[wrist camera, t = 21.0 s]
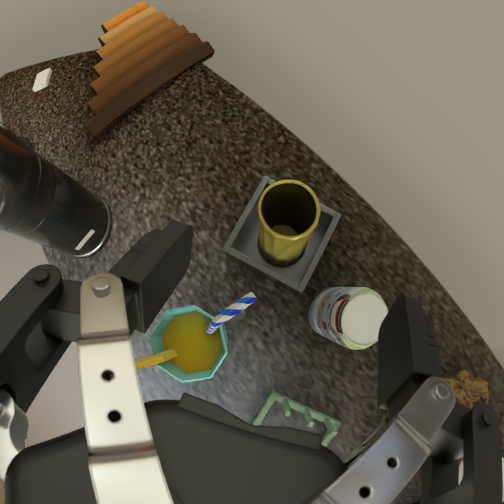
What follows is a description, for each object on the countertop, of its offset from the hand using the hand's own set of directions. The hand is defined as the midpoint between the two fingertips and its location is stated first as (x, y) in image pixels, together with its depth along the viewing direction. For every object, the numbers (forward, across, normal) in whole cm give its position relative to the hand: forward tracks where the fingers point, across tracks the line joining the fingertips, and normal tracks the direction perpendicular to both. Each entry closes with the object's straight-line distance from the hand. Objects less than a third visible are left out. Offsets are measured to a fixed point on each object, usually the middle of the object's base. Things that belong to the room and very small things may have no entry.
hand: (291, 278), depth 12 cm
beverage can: (+21, -7, +20) cm, 30 cm away
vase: (+25, +1, +15) cm, 29 cm away
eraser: (+39, +56, +3) cm, 68 cm away
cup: (+16, +6, +25) cm, 30 cm away
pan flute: (+32, +45, +4) cm, 55 cm away
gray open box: (+25, +2, +15) cm, 30 cm away
